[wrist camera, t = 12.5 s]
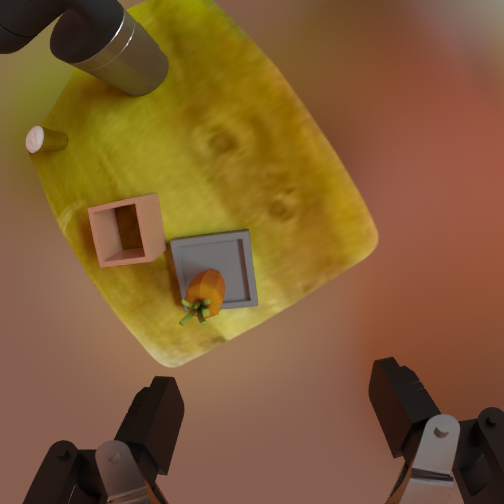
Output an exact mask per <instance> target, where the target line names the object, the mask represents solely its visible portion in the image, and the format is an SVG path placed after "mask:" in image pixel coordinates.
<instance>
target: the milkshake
mask: <svg viewBox="0 0 504 504" xmlns="http://www.w3.org/2000/svg"><path fill="white" fill-rule="evenodd" d="M67 143H68V136H67V134H65V133H63V132H59V131H55V130H51V129H48V128H44V127H41V126H35V127H33V128H32V129H31V130H30V131H29V133H28V135H27V137H26V148H27V150H28V151H29V152H31V153H32V154H33V153H35V152H42V151H53V150H62V149H64V148H65V147H66V146H67ZM30 155H31V154H30ZM30 155H29V156H30Z"/></svg>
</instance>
